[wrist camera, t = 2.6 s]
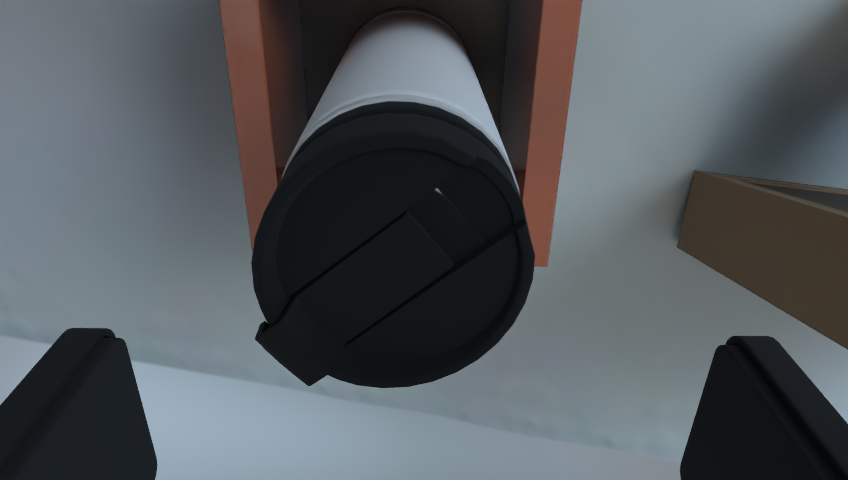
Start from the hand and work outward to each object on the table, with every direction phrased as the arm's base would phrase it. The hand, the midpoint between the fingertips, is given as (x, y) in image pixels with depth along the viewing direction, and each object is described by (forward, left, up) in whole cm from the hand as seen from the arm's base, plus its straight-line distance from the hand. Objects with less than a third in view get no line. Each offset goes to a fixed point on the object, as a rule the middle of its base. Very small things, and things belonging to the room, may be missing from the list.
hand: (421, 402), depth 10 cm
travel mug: (-1, 0, -23) cm, 23 cm away
